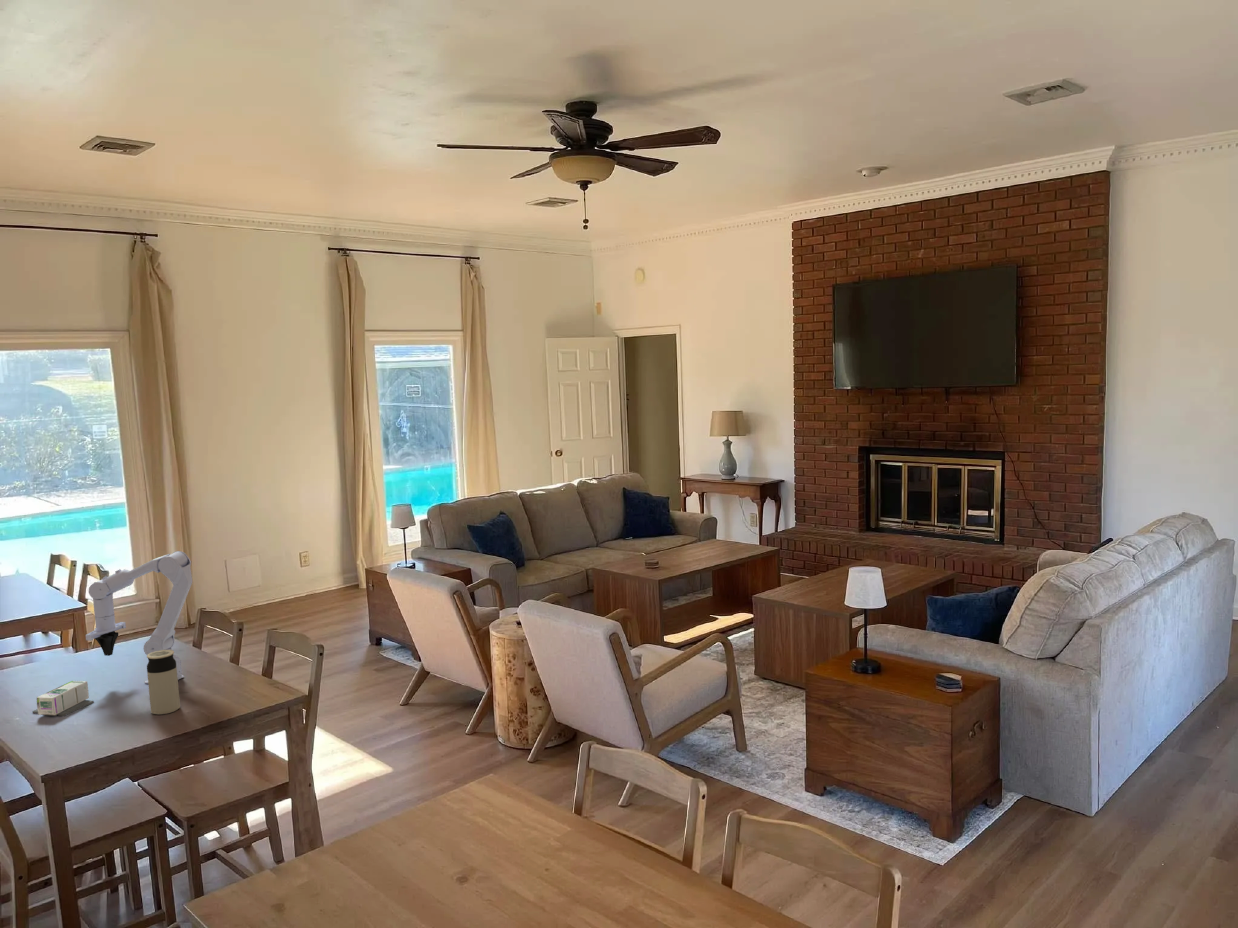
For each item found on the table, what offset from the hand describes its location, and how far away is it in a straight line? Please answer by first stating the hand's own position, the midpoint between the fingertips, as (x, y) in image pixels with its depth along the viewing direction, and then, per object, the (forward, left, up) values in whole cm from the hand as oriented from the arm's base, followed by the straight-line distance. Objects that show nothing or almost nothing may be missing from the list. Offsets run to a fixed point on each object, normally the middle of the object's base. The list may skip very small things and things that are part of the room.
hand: (108, 654), depth 297 cm
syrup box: (-3, +14, -6) cm, 16 cm away
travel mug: (-38, +16, -10) cm, 42 cm away
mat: (-3, +21, -10) cm, 24 cm away
